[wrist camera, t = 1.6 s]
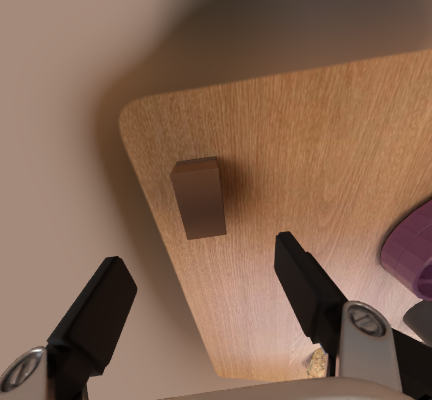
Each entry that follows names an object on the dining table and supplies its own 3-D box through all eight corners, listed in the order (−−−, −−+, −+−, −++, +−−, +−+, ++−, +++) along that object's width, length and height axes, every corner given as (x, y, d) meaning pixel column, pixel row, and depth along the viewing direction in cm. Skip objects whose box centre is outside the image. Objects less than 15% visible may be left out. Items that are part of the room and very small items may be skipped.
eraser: (176, 161, 16) (169, 174, 13) (215, 156, 16) (218, 167, 13) (190, 218, 20) (187, 240, 16) (222, 213, 20) (226, 234, 16)
